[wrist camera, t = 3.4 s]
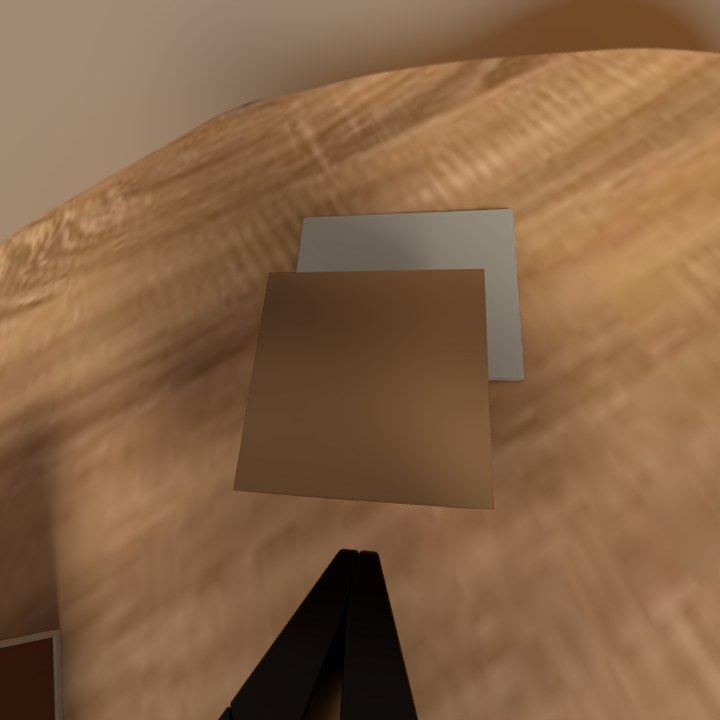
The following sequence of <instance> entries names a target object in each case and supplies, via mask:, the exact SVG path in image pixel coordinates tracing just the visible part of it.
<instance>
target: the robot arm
mask: <svg viewBox="0 0 720 720" xmlns="http://www.w3.org/2000/svg"><path fill="white" fill-rule="evenodd" d="M230 705H231V708H230V707H227V708H226V709H225V711H224V712H223V714H222V715H221V716H220V718H219V719H218V720H418V717H417V713H416V708H415V704H414V700H413V696H412V692H411V688H410V683H409V679H408V675H407V671H406V667H405V662H404V658H403V654H402V650H401V646H400V642H399V637H398V633H397V629H396V625H395V621H394V616H393V612H392V608H391V604H390V600H389V596H388V591H387V587H386V583H385V579H384V575H383V570H382V566H381V562H380V558H379V555H378V553H377V552H373V551H361V552H360V553H359V552H358V551H357V550H351V549H341V550H340V551H339V552H338V553H337V554H336V556H335V557H334V559H333V560H332V561H331V563H330V564H329V566H328V567H327V568H326V570H325V571H324V573H323V574H322V575H321V577H320V578H319V580H318V581H317V582H316V584H315V585H314V587H313V588H312V589H311V591H310V592H309V594H308V595H307V596H306V598H305V599H304V601H303V602H302V603H301V605H300V606H299V608H298V609H297V610H296V612H295V613H294V615H293V616H292V617H291V619H290V620H289V622H288V623H287V624H286V626H285V627H284V629H283V630H282V631H281V633H280V634H279V636H278V637H277V638H276V640H275V641H274V643H273V644H272V645H271V647H270V648H269V650H268V651H267V652H266V654H265V655H264V657H263V658H262V659H261V661H260V662H259V664H258V665H257V666H256V668H255V669H254V671H253V672H252V673H251V675H250V676H249V677H248V679H247V680H246V682H245V683H244V684H243V686H242V687H241V689H240V690H239V691H238V693H237V694H236V696H235V697H234V698H233V700H232V701H231V704H230Z"/></svg>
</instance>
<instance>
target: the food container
mask: <svg viewBox="0 0 720 720" xmlns="http://www.w3.org/2000/svg"><path fill="white" fill-rule="evenodd" d="M0 720H63V699H62V668H61V637H60V629H56V630H51V631H46V632H41V633H36V634H31V635H26V636H20V637H15V638H10V639H5V640H0Z"/></svg>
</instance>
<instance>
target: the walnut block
mask: <svg viewBox="0 0 720 720" xmlns="http://www.w3.org/2000/svg"><path fill="white" fill-rule="evenodd" d="M233 490H235V491H246V492H258V493H270V494H282V495H294V496H306V497H318V498H330V499H343V500H356V501H370V502H383V503H397V504H411V505H424V506H438V507H451V508H473V509H494V506H493V480H492V454H491V427H490V401H489V375H488V348H487V322H486V296H485V269H439V270H386V271H334V272H282V273H269V277H268V283H267V289H266V295H265V302H264V308H263V314H262V320H261V326H260V332H259V338H258V344H257V350H256V356H255V362H254V368H253V374H252V380H251V386H250V392H249V398H248V404H247V410H246V416H245V422H244V428H243V434H242V440H241V446H240V452H239V458H238V464H237V470H236V476H235V482H234V488H233Z"/></svg>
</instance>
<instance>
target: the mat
mask: <svg viewBox="0 0 720 720" xmlns="http://www.w3.org/2000/svg"><path fill="white" fill-rule="evenodd" d="M439 269H485V296H486V322H487V348H488V375H489V380H504V381H523V379H524V365H523V351H522V336H521V322H520V307H519V293H518V278H517V264H516V249H515V235H514V220H513V209H498V210H474V211H449V212H425V213H401V214H376V215H352V216H327V217H304V220H303V227H302V234H301V241H300V248H299V255H298V262H297V270H296V272H334V271H386V270H439Z"/></svg>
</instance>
